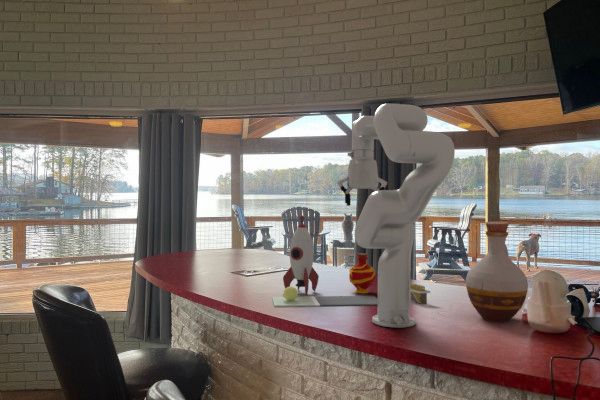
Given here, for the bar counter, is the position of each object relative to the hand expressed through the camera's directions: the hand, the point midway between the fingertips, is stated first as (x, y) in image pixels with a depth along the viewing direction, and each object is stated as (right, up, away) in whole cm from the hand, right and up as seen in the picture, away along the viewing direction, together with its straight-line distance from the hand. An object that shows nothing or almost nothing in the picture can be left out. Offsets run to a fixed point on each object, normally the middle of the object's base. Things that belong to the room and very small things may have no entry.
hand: (362, 205), depth 166 cm
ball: (-25, -31, +3) cm, 40 cm away
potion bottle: (+3, -35, +24) cm, 42 cm away
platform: (+20, -35, +6) cm, 41 cm away
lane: (-12, -34, +5) cm, 37 cm away
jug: (+40, -35, -17) cm, 55 cm away
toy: (-21, -34, +21) cm, 45 cm away
